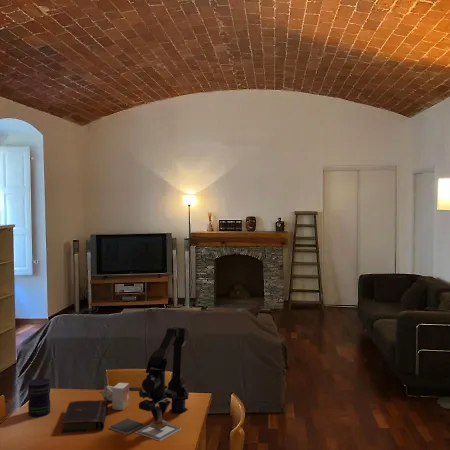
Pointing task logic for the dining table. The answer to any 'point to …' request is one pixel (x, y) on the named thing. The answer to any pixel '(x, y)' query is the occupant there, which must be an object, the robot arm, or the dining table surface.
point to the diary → (84, 416)
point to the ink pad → (126, 426)
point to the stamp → (158, 422)
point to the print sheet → (158, 432)
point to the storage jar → (39, 397)
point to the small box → (120, 396)
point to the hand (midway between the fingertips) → (158, 419)
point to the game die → (107, 393)
